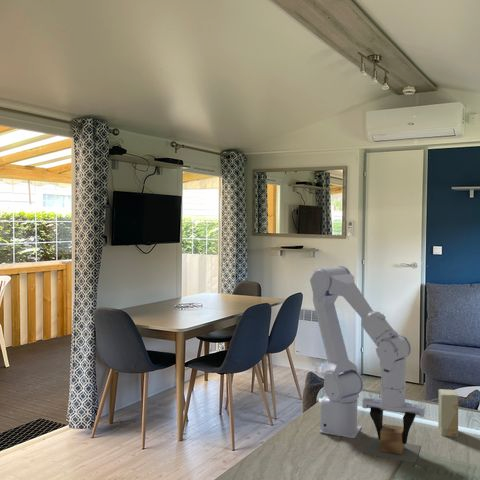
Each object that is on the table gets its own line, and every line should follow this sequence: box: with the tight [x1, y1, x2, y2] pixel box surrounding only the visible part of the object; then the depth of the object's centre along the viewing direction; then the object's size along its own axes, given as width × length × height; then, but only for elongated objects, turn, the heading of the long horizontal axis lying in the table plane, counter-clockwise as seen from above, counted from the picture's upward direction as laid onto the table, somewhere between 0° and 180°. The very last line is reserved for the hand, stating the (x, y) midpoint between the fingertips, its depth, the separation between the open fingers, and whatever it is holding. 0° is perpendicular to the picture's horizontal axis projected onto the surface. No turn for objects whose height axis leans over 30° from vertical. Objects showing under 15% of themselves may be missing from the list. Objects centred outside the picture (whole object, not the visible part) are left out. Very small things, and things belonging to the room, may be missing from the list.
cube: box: [380, 423, 405, 455], centre depth 133 cm, size 5×5×5 cm
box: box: [437, 388, 459, 438], centre depth 144 cm, size 5×4×11 cm
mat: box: [363, 437, 421, 464], centre depth 133 cm, size 12×10×1 cm
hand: (392, 440), depth 133 cm, fingers open, 5 cm apart
